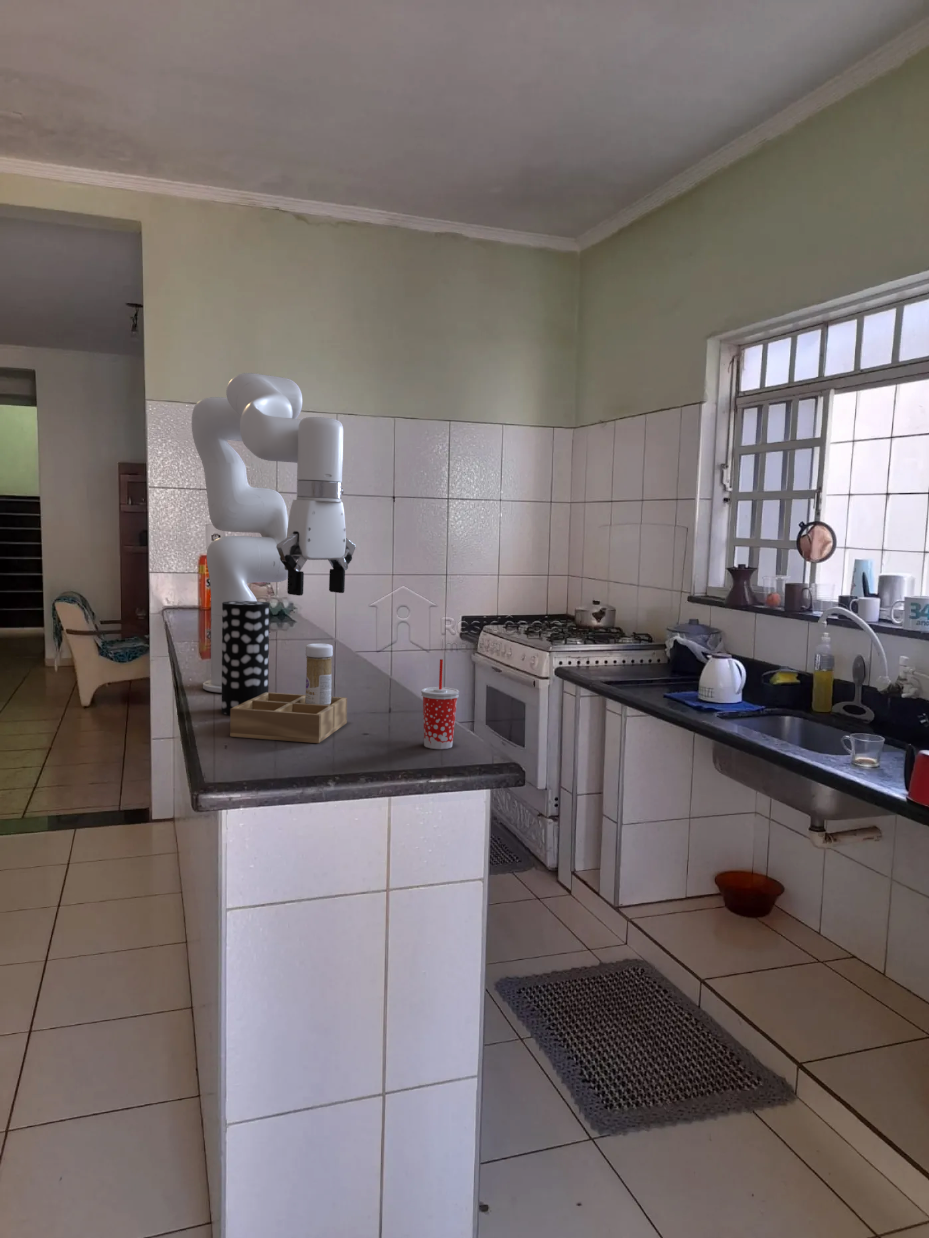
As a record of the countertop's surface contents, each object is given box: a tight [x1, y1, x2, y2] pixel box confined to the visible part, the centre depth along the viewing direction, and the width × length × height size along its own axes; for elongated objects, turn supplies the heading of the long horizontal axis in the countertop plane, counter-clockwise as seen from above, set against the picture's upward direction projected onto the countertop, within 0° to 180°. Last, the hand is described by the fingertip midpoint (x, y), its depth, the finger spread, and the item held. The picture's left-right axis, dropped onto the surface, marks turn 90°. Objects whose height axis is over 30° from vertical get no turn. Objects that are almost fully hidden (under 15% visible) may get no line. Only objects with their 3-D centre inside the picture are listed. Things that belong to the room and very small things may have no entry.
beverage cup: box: [420, 658, 460, 750], centre depth 138 cm, size 6×6×14 cm
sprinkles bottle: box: [305, 643, 334, 705], centre depth 148 cm, size 5×5×14 cm
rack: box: [229, 691, 348, 744], centre depth 146 cm, size 15×15×5 cm
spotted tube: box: [221, 600, 270, 716], centre depth 158 cm, size 8×8×20 cm
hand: (316, 593), depth 148 cm, fingers open, 9 cm apart
